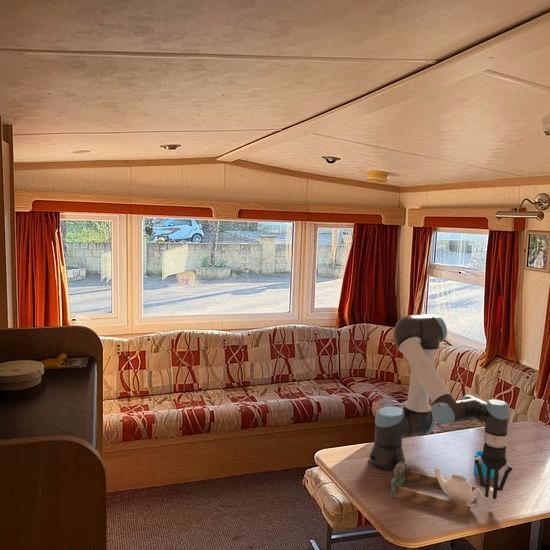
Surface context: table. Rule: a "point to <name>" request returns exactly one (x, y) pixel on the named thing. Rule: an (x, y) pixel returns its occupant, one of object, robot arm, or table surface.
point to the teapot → (458, 488)
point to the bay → (422, 497)
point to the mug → (484, 468)
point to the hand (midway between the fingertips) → (490, 505)
